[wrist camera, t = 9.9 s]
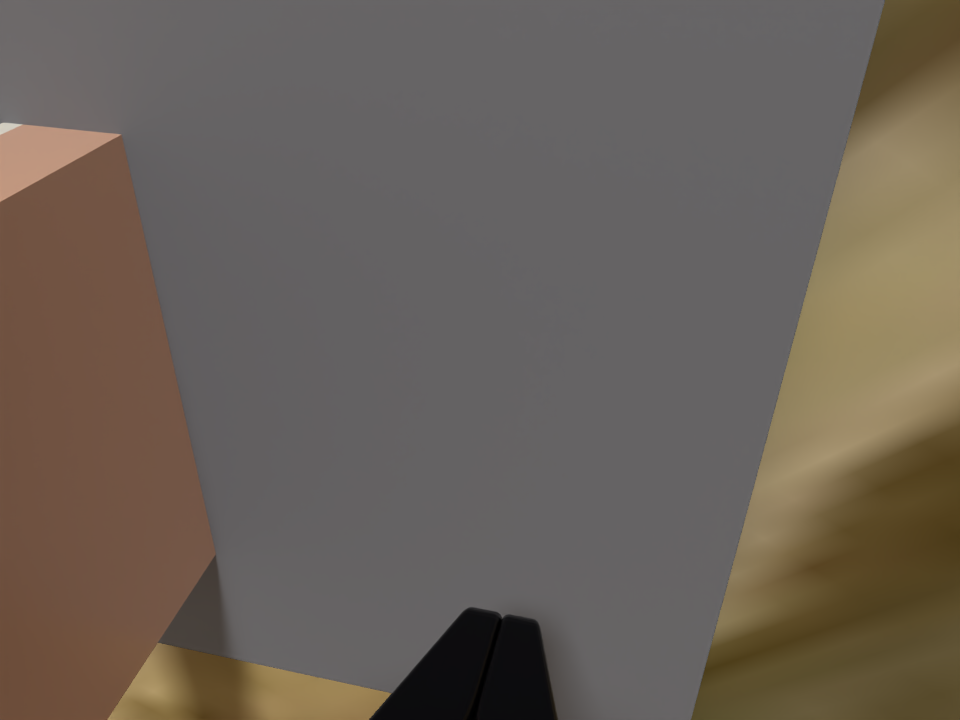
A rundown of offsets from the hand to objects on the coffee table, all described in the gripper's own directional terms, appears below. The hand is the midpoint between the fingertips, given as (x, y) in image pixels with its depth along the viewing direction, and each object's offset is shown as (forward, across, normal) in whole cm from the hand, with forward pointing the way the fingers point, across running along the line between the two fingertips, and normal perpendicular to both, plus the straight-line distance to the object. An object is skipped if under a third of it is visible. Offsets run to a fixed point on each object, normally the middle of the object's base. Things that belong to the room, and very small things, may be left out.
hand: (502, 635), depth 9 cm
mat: (+4, +6, -1) cm, 7 cm away
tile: (+4, +7, 0) cm, 8 cm away
